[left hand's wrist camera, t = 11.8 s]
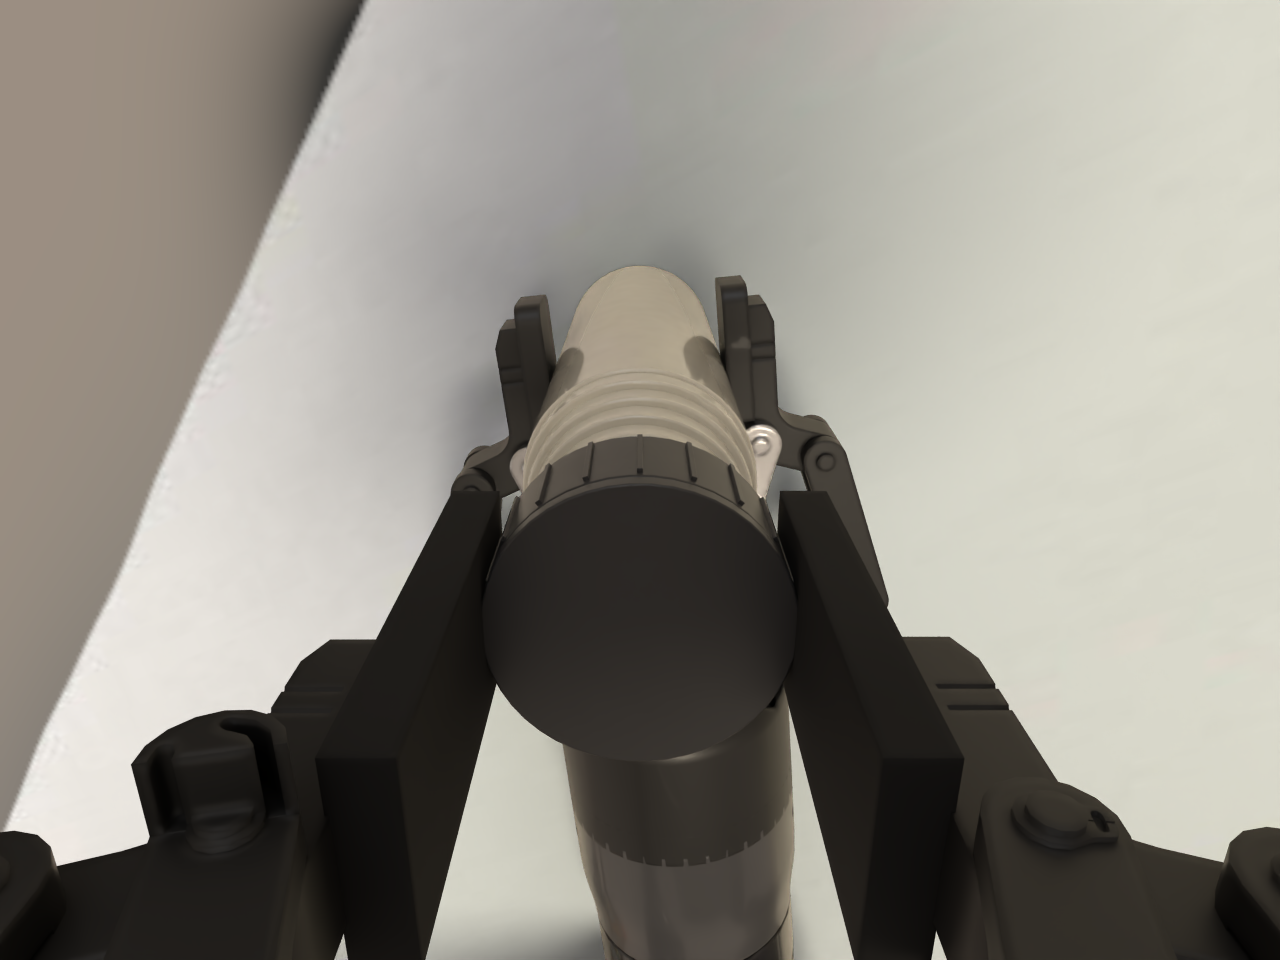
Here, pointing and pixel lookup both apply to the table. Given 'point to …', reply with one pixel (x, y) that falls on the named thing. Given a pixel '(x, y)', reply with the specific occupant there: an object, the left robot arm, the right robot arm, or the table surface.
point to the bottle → (639, 375)
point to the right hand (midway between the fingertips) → (629, 293)
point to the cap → (639, 601)
